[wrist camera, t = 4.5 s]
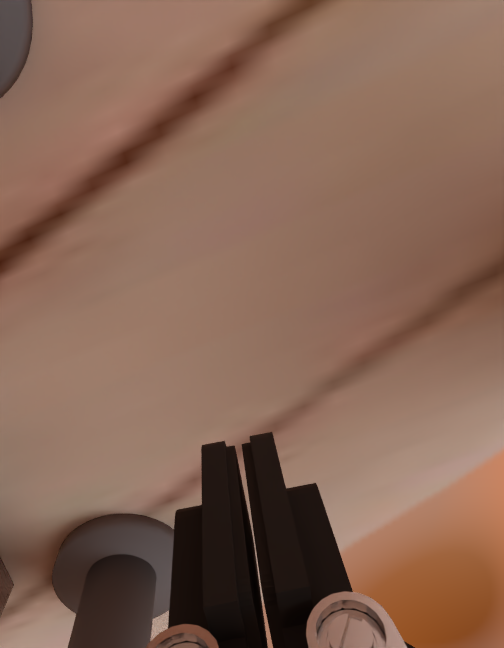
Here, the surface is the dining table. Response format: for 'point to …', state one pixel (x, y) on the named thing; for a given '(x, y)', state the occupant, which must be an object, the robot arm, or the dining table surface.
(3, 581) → the breaker panel
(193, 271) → the dining table surface
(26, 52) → the knob
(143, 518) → the post
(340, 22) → the dining table surface
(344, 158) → the dining table surface
